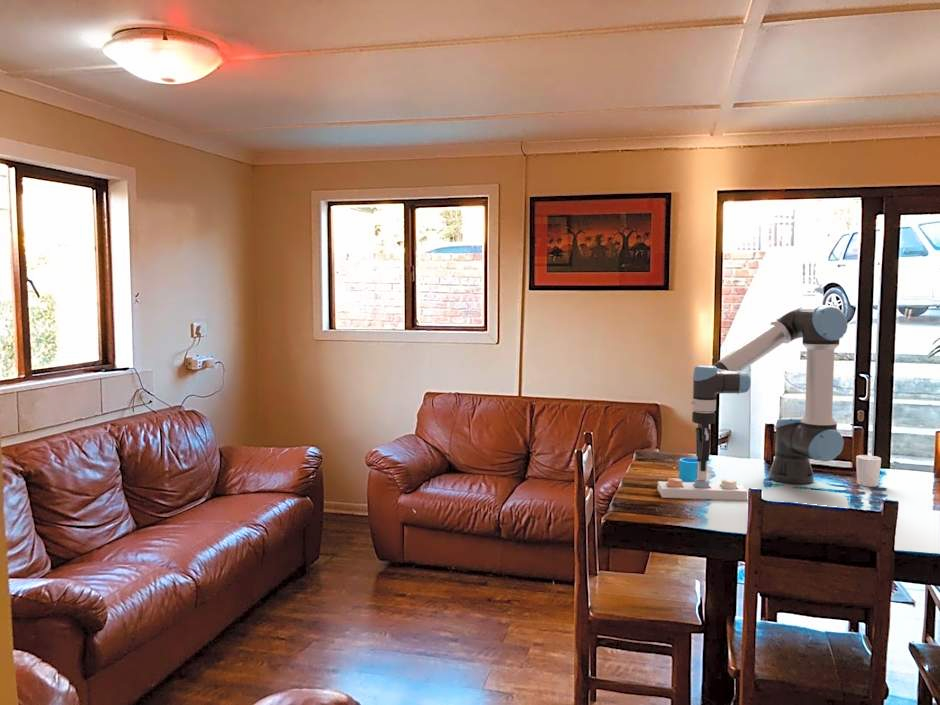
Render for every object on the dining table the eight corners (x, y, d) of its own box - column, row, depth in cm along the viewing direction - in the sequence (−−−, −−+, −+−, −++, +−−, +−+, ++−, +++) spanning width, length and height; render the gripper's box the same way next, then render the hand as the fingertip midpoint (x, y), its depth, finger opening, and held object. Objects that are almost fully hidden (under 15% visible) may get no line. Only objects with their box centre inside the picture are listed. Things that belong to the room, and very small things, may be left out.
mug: (706, 484, 265) (707, 462, 264) (686, 485, 263) (686, 463, 262) (688, 476, 277) (689, 455, 276) (669, 477, 275) (669, 456, 274)
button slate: (707, 490, 253) (707, 478, 253) (710, 493, 248) (710, 482, 248) (692, 489, 253) (693, 478, 253) (695, 493, 249) (696, 481, 248)
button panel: (739, 492, 255) (740, 483, 254) (747, 500, 245) (748, 491, 244) (657, 489, 257) (657, 481, 257) (662, 497, 247) (662, 488, 247)
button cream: (734, 491, 252) (734, 479, 252) (737, 494, 247) (738, 483, 247) (719, 490, 253) (720, 479, 252) (723, 494, 248) (723, 482, 248)
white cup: (878, 483, 268) (880, 456, 267) (880, 488, 260) (882, 460, 260) (854, 480, 271) (855, 454, 270) (855, 485, 264) (857, 458, 263)
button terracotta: (680, 489, 254) (680, 478, 254) (683, 493, 249) (683, 481, 249) (666, 489, 254) (666, 477, 254) (668, 492, 250) (669, 481, 249)
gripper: (688, 408, 256) (686, 474, 257) (696, 414, 243) (694, 484, 244) (710, 408, 255) (708, 475, 257) (719, 414, 242) (717, 484, 244)
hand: (701, 479), depth 251 cm, fingers closed
